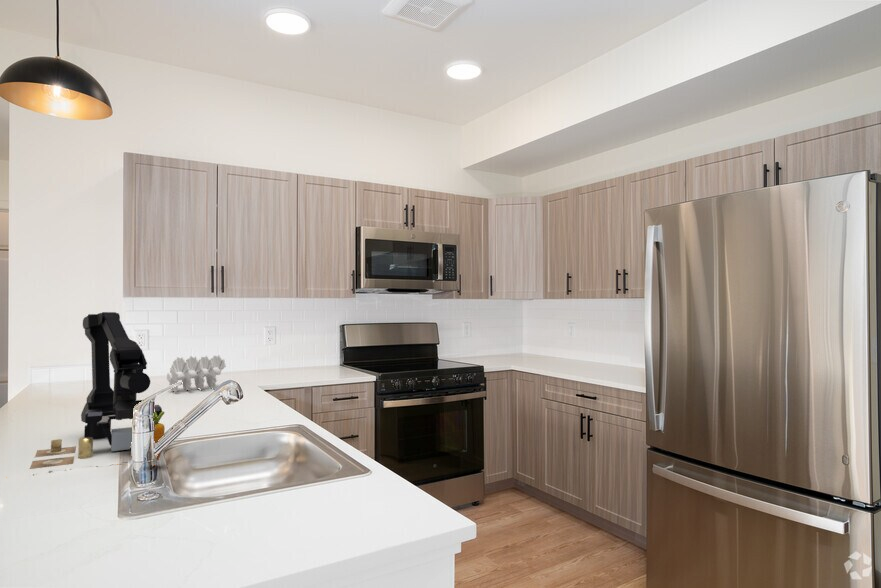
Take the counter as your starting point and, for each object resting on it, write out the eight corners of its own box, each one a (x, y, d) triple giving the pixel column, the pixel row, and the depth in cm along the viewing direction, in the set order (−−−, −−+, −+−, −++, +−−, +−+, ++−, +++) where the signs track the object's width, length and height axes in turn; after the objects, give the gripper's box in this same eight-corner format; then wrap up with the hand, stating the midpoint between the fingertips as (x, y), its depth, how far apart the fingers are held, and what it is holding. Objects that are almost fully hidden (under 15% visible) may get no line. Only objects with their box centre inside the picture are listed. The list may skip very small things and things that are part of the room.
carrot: (167, 465, 140) (169, 408, 140) (155, 470, 135) (157, 411, 135) (150, 464, 140) (151, 407, 141) (137, 469, 136) (139, 411, 136)
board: (75, 449, 153) (76, 435, 154) (74, 456, 147) (75, 441, 147) (37, 454, 149) (37, 439, 149) (34, 461, 142) (34, 445, 142)
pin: (92, 458, 145) (93, 436, 145) (92, 461, 143) (92, 438, 143) (78, 459, 143) (79, 437, 144) (77, 462, 141) (78, 440, 141)
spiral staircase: (165, 400, 258) (215, 392, 276) (178, 388, 247) (229, 381, 265) (158, 365, 263) (208, 360, 281) (170, 352, 252) (221, 347, 271)
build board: (74, 459, 143) (74, 455, 143) (73, 467, 137) (73, 463, 137) (32, 464, 138) (32, 460, 138) (29, 472, 132) (29, 468, 132)
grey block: (134, 443, 155) (135, 426, 156) (136, 448, 150) (136, 430, 150) (110, 446, 152) (111, 429, 152) (111, 451, 147) (112, 433, 147)
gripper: (85, 395, 140) (83, 455, 140) (164, 390, 150) (162, 446, 150) (86, 390, 149) (84, 445, 149) (160, 385, 159) (159, 437, 159)
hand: (123, 443), depth 151 cm, fingers closed on grey block, 6 cm apart
